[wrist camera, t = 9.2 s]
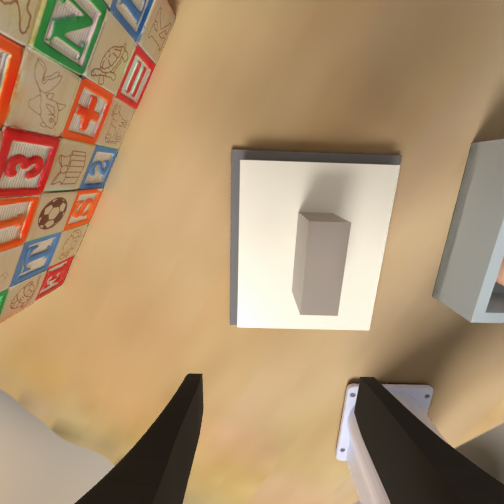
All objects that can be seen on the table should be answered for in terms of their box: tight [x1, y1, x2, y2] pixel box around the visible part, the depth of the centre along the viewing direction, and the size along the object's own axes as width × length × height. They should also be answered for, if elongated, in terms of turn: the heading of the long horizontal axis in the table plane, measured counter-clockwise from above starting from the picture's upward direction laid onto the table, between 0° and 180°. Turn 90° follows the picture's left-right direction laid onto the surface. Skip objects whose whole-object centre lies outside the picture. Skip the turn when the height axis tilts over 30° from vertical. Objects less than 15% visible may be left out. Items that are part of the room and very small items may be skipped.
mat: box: [230, 149, 402, 325], centre depth 20 cm, size 14×12×1 cm
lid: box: [237, 160, 400, 330], centre depth 18 cm, size 13×11×5 cm
